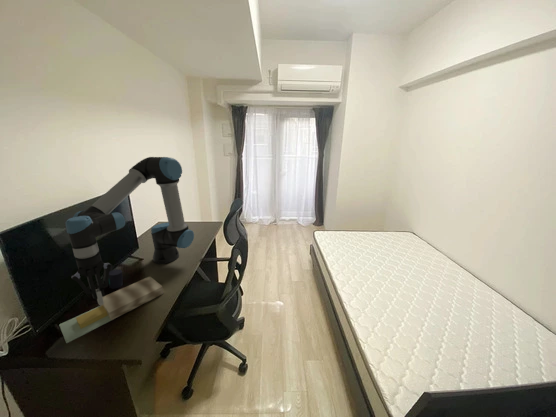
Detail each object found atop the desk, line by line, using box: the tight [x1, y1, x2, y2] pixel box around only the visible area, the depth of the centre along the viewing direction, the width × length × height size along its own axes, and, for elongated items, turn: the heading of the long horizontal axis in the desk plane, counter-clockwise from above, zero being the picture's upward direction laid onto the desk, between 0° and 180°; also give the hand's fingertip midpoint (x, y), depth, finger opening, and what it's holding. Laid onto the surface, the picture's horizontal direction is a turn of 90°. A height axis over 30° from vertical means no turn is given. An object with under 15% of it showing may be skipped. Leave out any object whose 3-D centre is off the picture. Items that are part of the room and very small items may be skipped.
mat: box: [58, 305, 112, 344], centre depth 91 cm, size 14×14×1 cm
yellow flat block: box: [76, 305, 108, 329], centre depth 93 cm, size 9×6×2 cm, turn 142°
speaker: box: [107, 265, 124, 290], centre depth 113 cm, size 8×6×10 cm
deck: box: [101, 276, 165, 321], centre depth 104 cm, size 22×14×4 cm, turn 142°
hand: (101, 303), depth 94 cm, fingers closed
